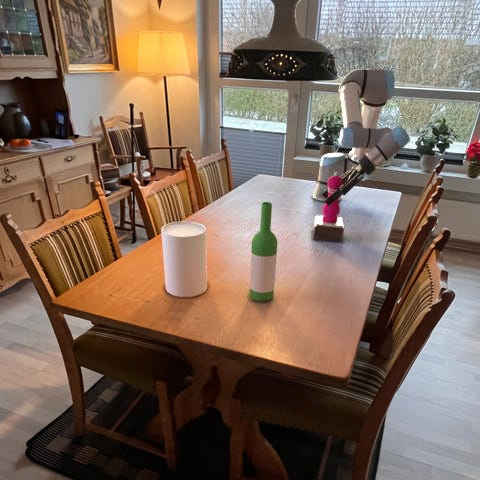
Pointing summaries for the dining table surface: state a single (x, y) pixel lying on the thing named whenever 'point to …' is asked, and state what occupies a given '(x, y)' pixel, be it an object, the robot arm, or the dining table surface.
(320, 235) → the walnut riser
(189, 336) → the dining table surface
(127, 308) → the dining table surface
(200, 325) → the dining table surface
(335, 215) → the pepper mill
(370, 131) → the robot arm
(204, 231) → the canister
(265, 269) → the wine bottle
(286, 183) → the dining table surface
